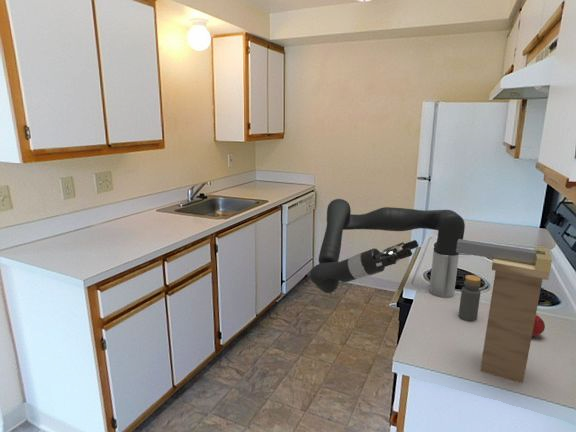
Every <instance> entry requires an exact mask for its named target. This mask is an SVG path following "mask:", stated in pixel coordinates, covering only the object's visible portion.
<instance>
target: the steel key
mask: <svg viewBox="0 0 576 432" xmlns="http://www.w3.org/2000/svg"><path fill="white" fill-rule="evenodd" d="M456 252H457V253H459V254H465V255H471V256H477V257H483V258H488V259H493V258H494V259H500V260H506V261H513V262H519V263H525V264H531V265H534V268H535V270H539V271H545V272H551V267H552V262H553V260H552V256H551V255H552V254H551V252H550V249H549V247H543V246H536V245H535V246H534V249H530V248H523V247H516V246H509V245H502V244H497V243H489V242H481V241H474V240H468V239H464V238H463V239H458V241H457V248H456Z"/></svg>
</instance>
